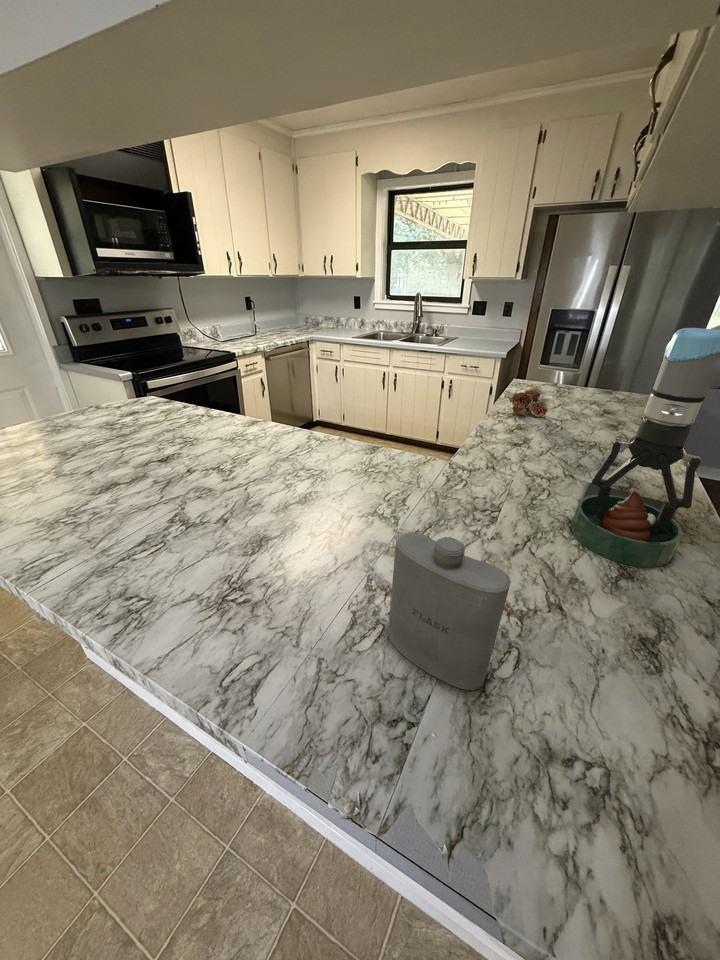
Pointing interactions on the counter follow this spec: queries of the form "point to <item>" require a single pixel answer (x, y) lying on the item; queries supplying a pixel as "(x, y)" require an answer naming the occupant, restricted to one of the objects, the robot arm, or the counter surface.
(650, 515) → the poop emoji
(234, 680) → the counter surface
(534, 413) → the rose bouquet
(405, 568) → the flask
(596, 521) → the green round dish
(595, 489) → the mat
